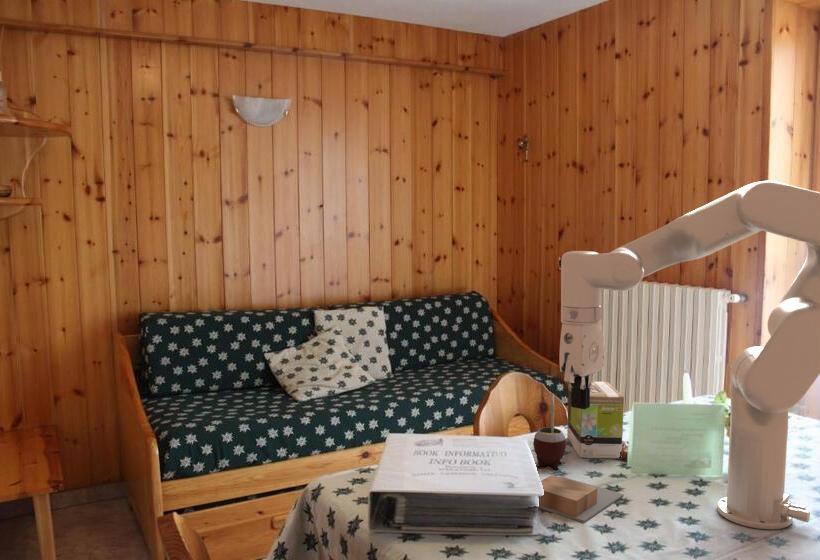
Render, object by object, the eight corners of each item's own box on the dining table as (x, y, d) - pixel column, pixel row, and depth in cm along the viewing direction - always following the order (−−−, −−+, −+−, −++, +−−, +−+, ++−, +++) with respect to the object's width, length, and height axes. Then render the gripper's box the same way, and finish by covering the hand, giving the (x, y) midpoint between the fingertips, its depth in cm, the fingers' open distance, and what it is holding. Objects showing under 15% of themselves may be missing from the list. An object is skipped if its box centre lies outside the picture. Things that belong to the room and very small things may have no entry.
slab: (597, 488, 136) (576, 500, 130) (597, 503, 136) (576, 516, 130) (552, 474, 142) (530, 486, 136) (551, 489, 143) (530, 501, 137)
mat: (623, 496, 140) (623, 494, 140) (584, 522, 128) (584, 520, 128) (561, 478, 150) (561, 476, 149) (519, 501, 138) (519, 499, 138)
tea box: (623, 459, 161) (625, 396, 159) (579, 459, 161) (580, 395, 160) (606, 437, 176) (608, 379, 174) (566, 437, 176) (567, 379, 175)
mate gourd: (545, 473, 152) (546, 406, 151) (524, 461, 159) (525, 397, 158) (573, 468, 155) (575, 401, 154) (551, 456, 162) (553, 393, 161)
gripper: (579, 321, 128) (579, 419, 130) (616, 311, 140) (615, 402, 141) (543, 318, 133) (543, 412, 135) (582, 308, 145) (581, 396, 146)
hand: (580, 407), depth 138 cm, fingers closed
